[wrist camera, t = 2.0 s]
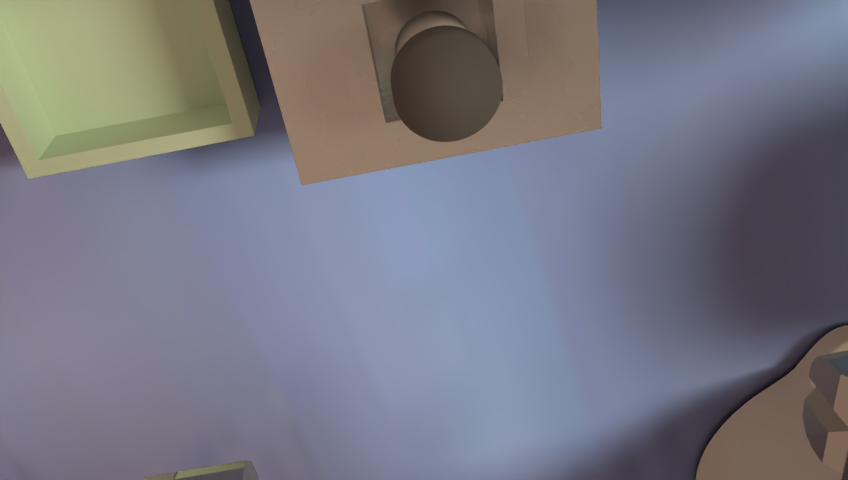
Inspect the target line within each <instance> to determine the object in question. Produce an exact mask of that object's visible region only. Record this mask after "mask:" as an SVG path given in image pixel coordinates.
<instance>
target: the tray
mask: <svg viewBox="0 0 848 480" xmlns="http://www.w3.org/2000/svg"><path fill="white" fill-rule="evenodd" d="M259 112H260V103H259V100H258V97H257V93H256V90H255V87H254V83H253V80H252V76H251V73H250V70H249V66H248V63H247V60H246V56H245V53H244V50H243V46H242V43H241V39H240V36H239V33H238V29H237V26H236V23H235V19H234V16H233V12H232V9H231V6H230V2H229V0H0V123H1V125H2V127H3V129H4V131H5V133H6V135H7V137H8V139H9V141H10V143H11V145H12V147H13V149H14V151H15V153H16V155H17V157H18V159H19V161H20V163H21V165H22V167H23V169H24V171H25V173H26V175H27V177H28V179H31V178H36V177H41V176H46V175H52V174H57V173H62V172H67V171H73V170H78V169H83V168H88V167H94V166H99V165H104V164H109V163H115V162H120V161H125V160H130V159H136V158H141V157H146V156H151V155H156V154H162V153H167V152H172V151H177V150H183V149H188V148H193V147H198V146H204V145H209V144H214V143H219V142H225V141H230V140H235V139H240V138H246V137H251V136H255V132H256V127H257V122H258V117H259Z"/></svg>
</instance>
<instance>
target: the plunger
mask: <svg viewBox="0 0 848 480" xmlns="http://www.w3.org/2000/svg"><path fill="white" fill-rule="evenodd" d="M395 56H396V57H395V59H394V62H393V65H392V69H391V79H390V82H391V90H392V95H393V101H394V105H395V109H396V111H397V113H398V115H399V117H400V119H401V120H402V122H403V123H404V124H405V125H406V126H407V127H408V128H409V129H410V130H411V131H412V132H414V133H415V134H417V135H419V136H421V137H423V138H425V139H428V140H432V141H437V142H452V141H458V140H462V139H465V138H467V137H470V136H472V135H473V134H475V133H477V132H478V131H480V130H481V129H482V128H483V127H485V126H486V125H487V124H488V123H489V121H490V120H491V119H492V118H493V116H494V115H495V113H496V111H497V109H498V107H499V104H500V102H501V98H502V91H503V81H502V75H501V72H500V69H499V66H498V64H497V62H496V61H495V59H494V57H493V55H492V53H491V51H490V49H489V48H488V46H487V45H486V44H485V42H484V41H483V40H482V39H481V38H479V37H478V36H477V35H476V34H474V33H472V32H471V31H469V30H468V29H467V27H466V26H465V24H464V23H463V22H462V21H461V20H460V19H459V18H457V17H456V16H454V15H452V14H450V13H448V12H444V11H437V10H433V11H426V12H422V13H420V14H418V15H416V16H414V17H413V18H411V19H410V20H409V21H408V22H407V23H406V24H405V25H404V26H403V27H402V29H401V30H400V32H399V34H398V36H397V40H396V44H395Z"/></svg>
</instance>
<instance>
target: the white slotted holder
mask: <svg viewBox="0 0 848 480" xmlns="http://www.w3.org/2000/svg"><path fill="white" fill-rule="evenodd" d="M250 3H251V7H252V10H253V14H254V18H255V21H256V25H257V28H258V32H259V35H260V39H261V42H262V46H263V49H264V53H265V57H266V60H267V64H268V67H269V71H270V74H271V78H272V81H273V85H274V88H275V92H276V96H277V99H278V103H279V106H280V110H281V113H282V117H283V120H284V124H285V127H286V131H287V135H288V138H289V142H290V145H291V149H292V152H293V156H294V159H295V163H296V166H297V170H298V174H299V177H300V181H301V184H302V185H306V184H311V183H317V182H322V181H327V180H332V179H338V178H343V177H348V176H353V175H359V174H364V173H369V172H374V171H380V170H385V169H390V168H395V167H401V166H406V165H411V164H416V163H422V162H427V161H432V160H437V159H443V158H448V157H453V156H458V155H464V154H469V153H474V152H479V151H485V150H490V149H495V148H500V147H506V146H511V145H516V144H521V143H527V142H532V141H537V140H542V139H548V138H553V137H558V136H563V135H569V134H574V133H579V132H584V131H590V130H595V129H600V128H601V101H600V74H599V47H598V20H597V0H250ZM433 10H437V11H444V12H448V13H450V14H452V15H454V16H456V17H457V18H459V19H460V20H461V21H462V22H463V23H464V24H465V26H466V27H467V29H468V30H469V31H471V32H472V33H474V34H476V35H477V36H478V37H479V38H481V39H482V40H483V41H484V42H485V44H486V45H487V46H488V48H489V49H490V51H491V53H492V55H493V57H494V59H495V61H496V62H497V64H498V66H499V69H500V72H501V75H502V81H503V91H502V98H501V102H500V104H499V107H498V109H497V111H496V113H495V115H494V116H493V118H492V119H491V120H490V121H489V123H488V124H487V125H486V126H485V127H483V128H482V129H481V130H480V131H478V132H477V133H475V134H473V135H472V136H470V137H467V138H465V139H462V140H458V141H452V142H437V141H432V140H428V139H425V138H423V137H421V136H419V135H417V134H415V133H414V132H412V131H411V130H410V129H409V128H408V127H407V126H406V125H405V124H404V123H403V122H402V120H401V119H400V117H399V115H398V113H397V111H396V109H395V105H394V101H393V95H392V90H391V82H390V79H391V69H392V65H393V62H394V59H395V57H396V56H395V44H396V40H397V36H398V34H399V32H400V30H401V29H402V27H403V26H404V25H405V24H406V23H407V22H408V21H409V20H410V19H411V18H413V17H414V16H416V15H418V14H420V13H422V12H426V11H433Z"/></svg>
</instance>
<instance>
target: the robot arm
mask: <svg viewBox="0 0 848 480" xmlns="http://www.w3.org/2000/svg"><path fill="white" fill-rule="evenodd" d="M142 480H258V475H257V472H256V470H255V468H254V465H253V463H252V461H241V462H234V463H228V464H222V465H215V466H209V467H202V468H196V469H189V470H183V471H179V472H174V473H168V474H161V475H155V476H149V477H144V478H143V479H142ZM696 480H848V325H845V326H841V327H838V328H836V329H834V330H832V331H830V332H829V333H827V334H826V335H825V336H824V337H822V338H821V339H820V340H819V341H818V342H817V343H816V344H815V345H814V346H813V347H812V348H811V349H810V351H809V352H808V353H807V354H806V355H805V356H804V358H803V359H802V360H801V361H800V362H799V363H798V365H797V366H796V367H795V368H794V369H793V370H792V371H791V372H790V373H788V374H787V375H786V376H784V377H783V378H782V379H780V380H779V381H777V382H776V383H774V384H773V385H771V386H770V387H768V388H767V389H765V390H764V391H762V392H760V393H759V394H757V395H756V396H755V397H753V398H752V399H751V400H749V401H748V402H747V403H745V404H744V405H743V406H742V407H741V408H739V409H738V410H737V411H736V412H735V413H734V414H733V415H732V416H731V417H730V418H729V419H728V420H727V421H726V422H725V423H724V424H723V425H722V426H721V427H720V429H719V430H718V431H717V432H716V434H715V435H714V436H713V438H712V439H711V441H710V442H709V444H708V446H707V447H706V449H705V451H704V453H703V455H702V457H701V460H700V462H699V466H698V469H697V474H696Z"/></svg>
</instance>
